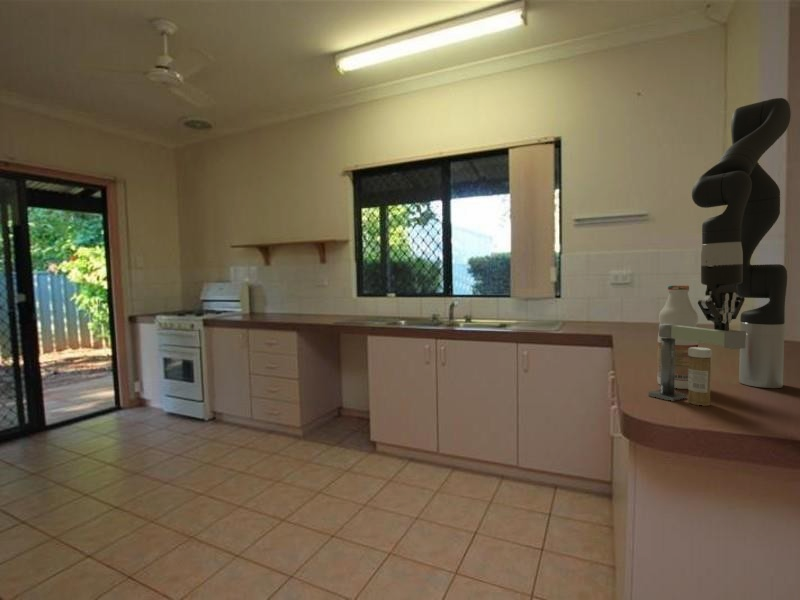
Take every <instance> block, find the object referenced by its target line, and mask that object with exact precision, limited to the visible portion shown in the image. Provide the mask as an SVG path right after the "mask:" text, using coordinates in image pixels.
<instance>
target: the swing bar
mask: <svg viewBox="0 0 800 600" xmlns="http://www.w3.org/2000/svg"><path fill="white" fill-rule="evenodd" d="M658 333H659V336H660V337H667V338H676V339H682V340H688V341H695V342H698V343H703V344H708V345H714V346H715V345H717V346H721V347H723V348H724V349H729V350H740V349H743V348H745V340H746V332H745V331H740V330H729V331H723V330H715V329H714V328H705V327H697V326H696V327H689V326H681V325H676V324H660V323H659V324H658Z"/></svg>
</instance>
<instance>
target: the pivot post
mask: <svg viewBox="0 0 800 600" xmlns="http://www.w3.org/2000/svg"><path fill="white" fill-rule="evenodd" d="M674 384H675V338H661V384H659V385H660V387H659V389H655V390H652V391H651V390H650V391H648V397H650V398H651V397H652V398H655V397H656V399H659V398H660V400H663V399H664V401H668V400H671V401H670V402H672V401H674V402H676V401H675V400H678V401H680V400H679V399H681V400H684V399H687V393H683V392H679V391H675V388H674ZM683 398H684V399H683Z"/></svg>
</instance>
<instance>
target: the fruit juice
mask: <svg viewBox="0 0 800 600" xmlns="http://www.w3.org/2000/svg"><path fill="white" fill-rule="evenodd" d="M667 291H668V296H667V299H666V300H665V304H664V306H663V307H662V309H661V310H659V311H660V312H659V313H658V321H659V324H676V325H681V326H689V327H697V324H698V321H699V315H698V312H697V311H696V310H695V308H694V307H693V305H692V302H691V300H690V298H689V297H690V296H689V294H688V293H689V291H690V286H689V285H687V284H686V285H675V284H674V285H667ZM661 338H667V337H660V336H659V332H658V334H657V368H656V369H657V370H656V372H657V374H656V375H657V377H656V379H657V383H658V384H659V385H660V384H661ZM691 347H699V342H695V341H688V340H682V339H676V338H675V384H674V389H676V388H677V389H679V390H689V389H688V373H689V355H688V349H689V348H691Z"/></svg>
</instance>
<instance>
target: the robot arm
mask: <svg viewBox="0 0 800 600" xmlns="http://www.w3.org/2000/svg"><path fill="white" fill-rule="evenodd" d="M791 113H792V111H791V105H790V104H789V101H788V100H787V99H785V98H783V97H776V98H770V99H767V100H763V101H759V102H755V103H750V104H746V105H743V106H740V107H736V109H735V110H734V111H733V113H732V116H731V122H730V133H731V134H730V135H731V145H730V146H729V147H728V148H727V149H726V150H725V152H724V153H723V154H722V155H721V157H720V158H719V160H718V162H717V163H716V164H715V165H713V166H712V167H711V168H710V169H708V170H707V171H706V172H704V173H703V174H702V175H701V176H700V177H698V179H697V180H696V181H695V183H694V185H693V187H692V189H691V199H692V201H693V202H694V204H695V205H696V206H697V207H700V208H703V209H704V208H705V209H707V208H715V207H721V206H726V208H725V210H724V211H723V212H722V213H721V214H719V215H715V216H713V217H709V218H707V219H704V220H703V222H702V226H701V232H702V233H701V244H702V246H701V252H700V282H701V284H702V285H704V286H706V289H705V293H704V294H705V297H703V299H699V300H698V301H697V304H698V306H699V309H700V310H701V312H702V313H703V315H704V317H705V319H706V320H707V321H711V322H712V323H713V325H714V327H713V329H715V330H723V331H730V323H732V320H736V319H737V317H738V315H739V313H740V311H741V308H742V307H743V305H744V302H745V300H746V299H747V298H748V299H768V302H767V303H766V304H764V305H762V306H759V307H757V308H753V309H748V310H745V311H743V312H741V314H740V324H739V329H740V330H739V331H745V332H746V340H745V348H743V349H739V362H738V363H739V369H738V370H739V371H738V382H739V383H740V384H743V385H746V386H749V387H750V386H751V387H757V388H765V389H766V388H767V389H779V388H783V387H784V386H783V383H784V354H785V353H784V352H785V351H784V350H785V349H784V348H785V322H786V321H785V318H786V317H785V316H786V315H785V313H786V312H785V310H786V309H785V308H786V307H785V306H786V294H787V285H788V271H787V269H786V266H785V265H784V264H779V263H778V264H776V263H775V264H773V263H772V264H751V259H752V255H753V254H754V252H755V251H756V249H757V247H758V246H759V244H760V242H761V241H762V240H763V239H764V237H765V236H766V235H767V234H768V232H770V230H771V229H772V228H773V226H774V225H775V223H776V222H777V220H778V219H779V217H780V216H781V215H780V214H781V191H780V187H779V185H778V183H776V181H775V180H774V178H772V176H771V175H769V173H768V172H767V171H766V170H764V168H763V167H762V166H761V165H760V163H759V161H760V159H761V157H762V156H763V155H764V154H765V153H766V152H767V151H768V150H769V149H770V148H771V147H772V146H773V145H774V144H775V143H776V142H777V141H778V140H779V139H780V138H781V137H782V136H783V135H784V133H785V132H786V131H787V130H788V127H789V125H790V122H791Z"/></svg>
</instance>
